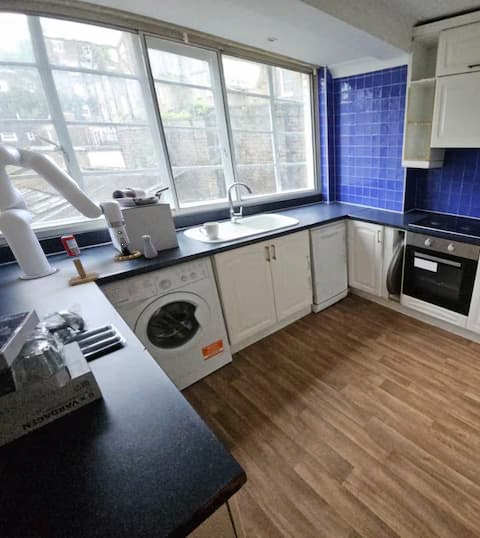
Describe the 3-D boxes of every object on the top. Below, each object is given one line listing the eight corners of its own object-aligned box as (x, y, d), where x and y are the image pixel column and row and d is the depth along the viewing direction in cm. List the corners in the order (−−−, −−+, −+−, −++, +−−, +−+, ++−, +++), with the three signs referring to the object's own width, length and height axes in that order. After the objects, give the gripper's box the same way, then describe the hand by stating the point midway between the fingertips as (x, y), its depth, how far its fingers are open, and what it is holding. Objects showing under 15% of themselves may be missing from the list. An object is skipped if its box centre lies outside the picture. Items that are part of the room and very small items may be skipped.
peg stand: (71, 280, 138) (62, 259, 134) (96, 274, 143) (88, 254, 140) (72, 285, 132) (62, 264, 128) (97, 279, 137) (89, 259, 133)
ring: (113, 258, 163) (112, 254, 162) (139, 253, 170) (138, 249, 169) (116, 263, 155) (115, 259, 154) (143, 258, 162) (141, 253, 161)
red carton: (72, 254, 173) (64, 235, 169) (83, 253, 174) (75, 234, 170) (66, 257, 168) (57, 237, 164) (77, 256, 170) (69, 236, 165)
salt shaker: (143, 260, 161) (135, 237, 156) (152, 256, 166) (145, 234, 161) (152, 260, 159) (144, 237, 154) (160, 257, 165) (154, 234, 160)
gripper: (127, 225, 156) (137, 257, 163) (122, 220, 167) (132, 251, 174) (109, 227, 151) (121, 261, 158) (106, 223, 162) (117, 254, 169)
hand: (127, 255), depth 166 cm, fingers closed on ring, 2 cm apart
